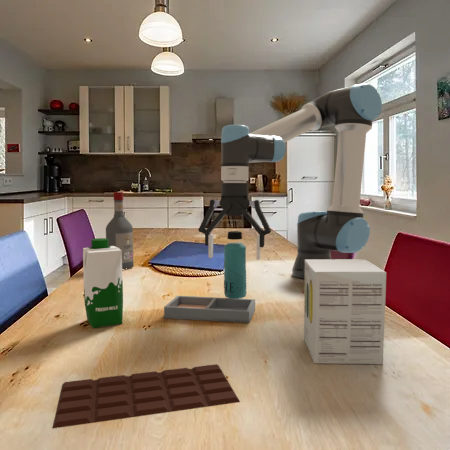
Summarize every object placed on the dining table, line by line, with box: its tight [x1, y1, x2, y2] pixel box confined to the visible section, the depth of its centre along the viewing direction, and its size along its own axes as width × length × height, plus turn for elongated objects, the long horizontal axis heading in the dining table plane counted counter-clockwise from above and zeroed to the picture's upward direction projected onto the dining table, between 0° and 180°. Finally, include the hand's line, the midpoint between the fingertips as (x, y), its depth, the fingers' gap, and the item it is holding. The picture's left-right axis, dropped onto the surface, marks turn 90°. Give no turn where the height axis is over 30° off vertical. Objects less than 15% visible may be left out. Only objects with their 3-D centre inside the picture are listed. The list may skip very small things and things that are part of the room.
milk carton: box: [82, 237, 124, 329], centre depth 104 cm, size 9×9×20 cm
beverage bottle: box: [223, 230, 248, 299], centre depth 122 cm, size 6×7×20 cm
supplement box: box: [303, 258, 387, 365], centre depth 86 cm, size 13×13×18 cm
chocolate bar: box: [52, 363, 241, 429], centre depth 70 cm, size 27×14×1 cm, turn 105°
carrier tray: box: [163, 295, 256, 324], centre depth 111 cm, size 21×11×3 cm, turn 79°
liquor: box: [105, 191, 135, 269], centre depth 170 cm, size 9×9×30 cm
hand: (234, 258), depth 122 cm, fingers open, 13 cm apart
